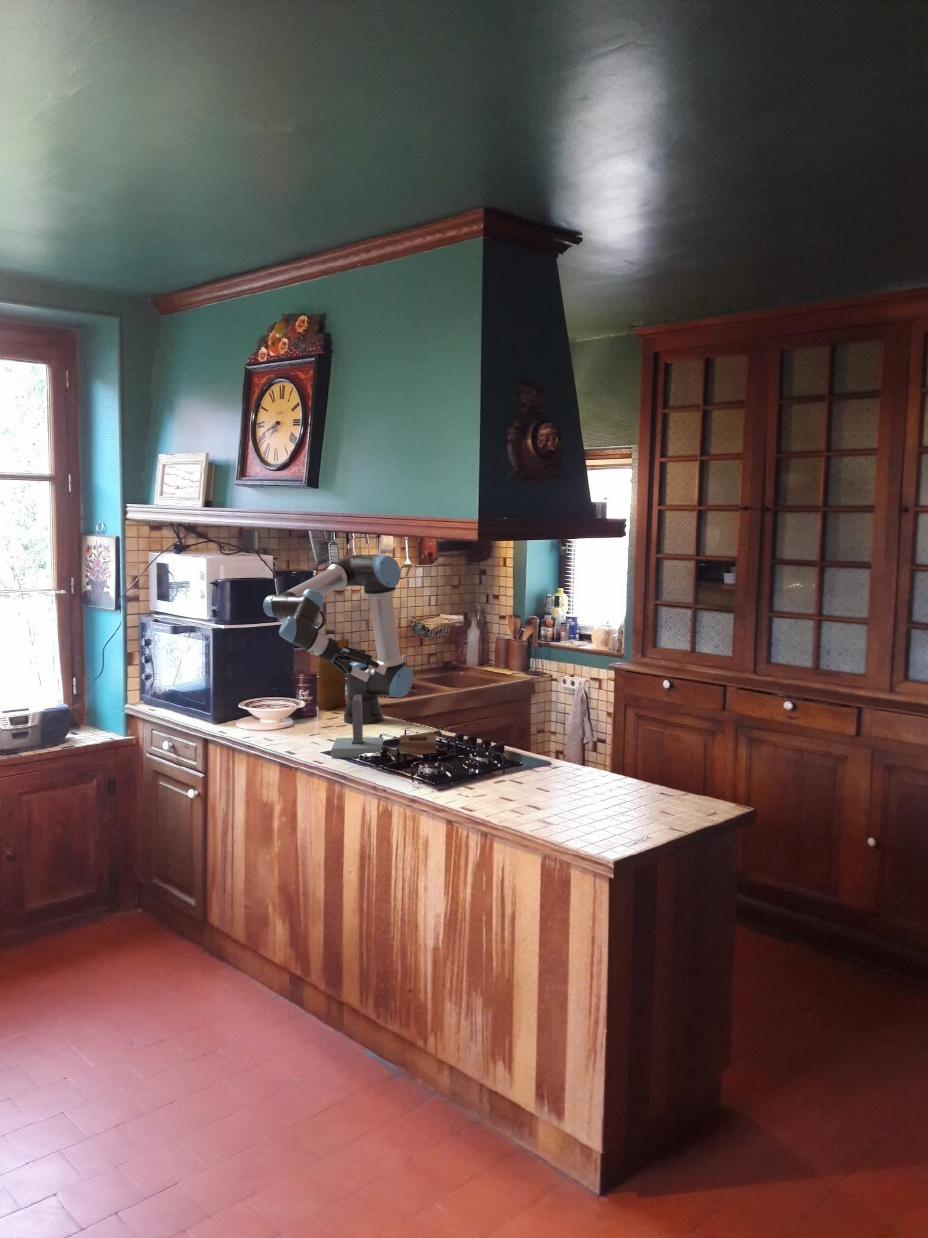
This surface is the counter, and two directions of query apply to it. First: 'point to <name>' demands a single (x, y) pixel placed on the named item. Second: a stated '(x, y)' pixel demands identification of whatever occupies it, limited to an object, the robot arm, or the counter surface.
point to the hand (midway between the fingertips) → (376, 674)
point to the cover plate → (356, 747)
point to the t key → (357, 719)
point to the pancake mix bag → (331, 683)
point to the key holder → (418, 744)
